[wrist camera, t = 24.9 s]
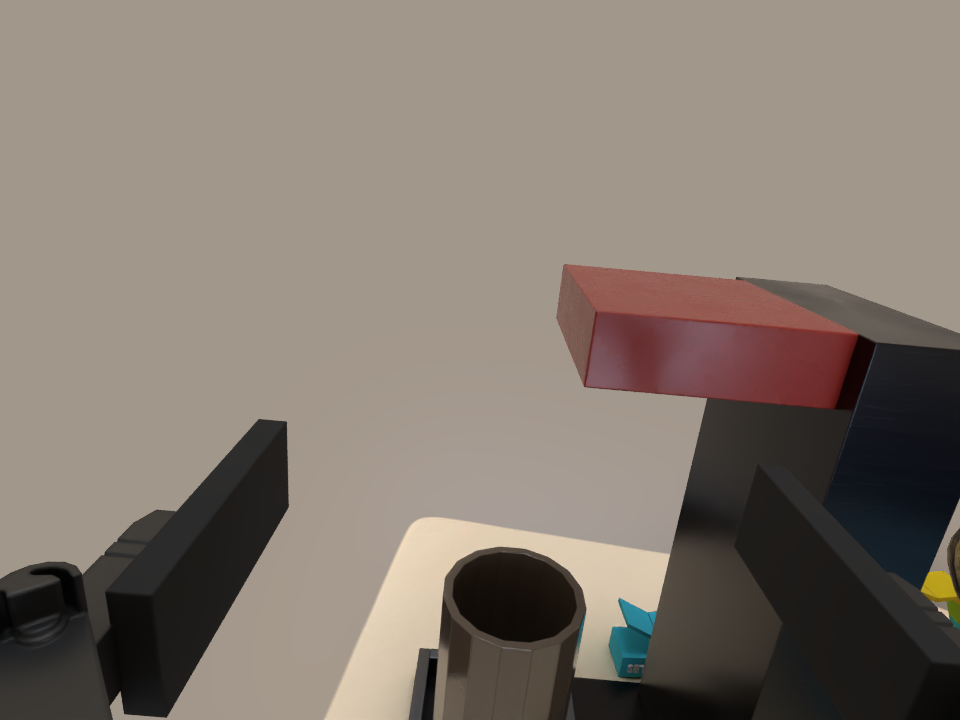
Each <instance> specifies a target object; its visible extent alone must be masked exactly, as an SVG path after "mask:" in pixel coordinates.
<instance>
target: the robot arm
mask: <svg viewBox="0 0 960 720" xmlns="http://www.w3.org/2000/svg"><path fill="white" fill-rule="evenodd" d="M287 459H288V457H287V422H285V421H274V420H262V419H259V420H258V421H257V422H256V423H255V424H254V425H253V426H252V427H251V429H250V430H249V431H248V432H247V433H246V434H245V435H244V436H243V437H242V439H241V440H240V441H239V442H238V443H237V444H236V445H235V447H234V448H233V449H232V450H231V451H230V452H229V453H228V454H227V455H226V457H225V458H224V459H223V460H222V461H221V462H220V463H219V464H218V466H217V467H216V468H215V469H214V470H213V471H212V472H211V473H210V474H209V476H208V477H207V478H206V479H205V480H204V481H203V482H202V483H201V485H200V486H199V487H198V488H197V489H196V490H195V491H194V492H193V494H192V495H191V496H190V497H189V498H188V499H187V500H186V502H185V503H184V504H183V505H182V506H181V507H180V508H179V509H178V510H177V512H175V511H165V510H155V511H153V512H152V513H150V514H148V515H146V516H145V517H143V518H141V519H139V520H138V521H136V522H134V523H133V524H132V525H131V526H130V527H129V528H128V529H127V530H126V531H125V532H124V533H123V534H122V535H121V536H120V537H119V538H118V541H117V542H114V543H113V544H112V545H111V546H110V547H109V548H108V549H107V550H106V551H105V554H104V556H101V557H99V558H98V560H96V561H95V563H94V564H93V565H92V566H91V567H90V568H89V569H88V570H87V571H86V572H85V573H84V574H83V575H82V573H81V572H80V571H79V569H78V568H77V566H75V565H72V564H69V563H66V562H45V563H40V564H35V565H30V566H27V567H24V568H22V569H19V570H17V571H14V572H11V573H10V574H8V575H6V576H5V577H3V578H1V579H0V720H113V718H112V714H111V710H110V705H111V704H112V702H113V701H114V699H115V698H116V696H117V695H118V694H119V692H120V691H121V697H122V703H123V710H124V714H128V715H141V716H153V717H165V718H167V716H168V714H169V713H170V711H171V709H172V708H173V706H174V704H175V702H176V701H177V699H178V697H179V695H180V694H181V692H182V690H183V689H184V687H185V685H186V683H187V682H188V680H189V678H190V676H191V675H192V673H193V671H194V670H195V668H196V666H197V664H198V663H199V661H200V659H201V658H202V656H203V654H204V652H205V650H206V649H207V647H208V645H209V643H210V642H211V640H212V638H213V637H214V635H215V633H216V631H217V630H218V628H219V626H220V625H221V623H222V621H223V620H224V618H225V616H226V614H227V613H228V611H229V609H230V607H231V606H232V604H233V602H234V601H235V599H236V597H237V595H238V594H239V592H240V590H241V588H242V587H243V585H244V583H245V582H246V580H247V578H248V576H249V575H250V573H251V571H252V569H253V568H254V566H255V564H256V563H257V561H258V559H259V557H260V556H261V554H262V552H263V551H264V549H265V547H266V545H267V543H268V542H269V540H270V538H271V537H272V535H273V533H274V531H275V530H276V528H277V526H278V524H279V523H280V521H281V519H282V518H283V516H284V514H285V513H286V511H287V509H288V507H289V504H288V503H289V502H288V460H287ZM734 547H735V549H736V550H737V552H738V554H739V555H740V557H741V558H742V560H743V561H744V563H745V565H746V566H747V568H748V569H749V571H750V572H751V574H752V576H753V577H754V579H755V580H756V582H757V584H758V585H759V587H760V588H761V590H762V591H763V593H764V595H765V596H766V598H767V599H768V601H769V602H770V604H771V606H772V607H773V609H774V610H775V612H776V614H777V615H778V617H779V618H780V620H781V621H782V623H783V625H784V626H785V628H786V629H787V631H788V632H789V634H790V636H791V637H792V639H793V640H794V642H795V644H796V645H797V647H798V648H799V650H800V651H801V653H802V655H803V656H804V658H805V659H806V661H807V662H808V664H809V666H810V667H811V669H812V670H813V672H814V674H815V675H816V677H817V678H818V680H819V681H820V683H821V685H822V686H823V688H824V689H825V691H826V692H827V694H828V696H829V697H830V699H831V700H832V702H833V704H834V705H835V707H836V708H837V710H838V711H839V713H840V715H841V716H842V718H843V719H844V720H960V630H959V629H958V628H957V627H954V626H953V623H952V622H951V621H950V620H949V619H948V618H947V617H946V616H945V615H944V614H943V613H942V612H938V608H937V607H936V606H935V605H934V604H933V603H932V602H931V601H930V600H929V599H928V598H927V597H926V596H925V595H924V594H923V593H922V592H921V591H920V590H919V589H918V588H916V587H915V586H913V585H912V584H910V583H909V582H907V581H906V580H904V579H903V578H901V577H900V576H898V575H897V574H895V573H890V572H886V571H885V570H884V569H883V568H882V567H881V566H880V565H879V564H878V563H877V562H876V561H875V560H874V559H873V558H872V557H871V556H870V555H869V554H868V553H867V551H866V550H865V549H864V548H863V547H862V546H861V545H860V544H859V543H858V542H857V541H856V540H855V539H854V538H853V537H852V536H851V535H850V534H849V533H848V532H847V531H846V530H845V529H844V528H843V527H842V526H841V525H840V523H839V522H838V521H837V520H836V519H835V518H834V517H833V516H832V515H831V514H830V513H829V512H828V511H827V510H826V509H825V508H824V507H823V506H822V505H821V504H820V503H819V502H818V501H817V500H816V499H815V498H814V496H813V495H812V494H811V493H810V492H809V491H808V490H807V489H806V488H805V487H804V486H803V485H802V484H801V483H800V482H799V481H798V480H797V479H796V478H795V477H794V476H793V475H792V474H791V473H790V472H789V471H788V470H787V468H786V467H783V466H772V465H761V464H758V465H757V468H756V471H755V475H754V478H753V482H752V485H751V489H750V492H749V496H748V499H747V503H746V506H745V510H744V513H743V516H742V520H741V523H740V527H739V530H738V534H737V537H736V541H735V544H734Z"/></svg>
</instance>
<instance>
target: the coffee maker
mask: <svg viewBox="0 0 960 720" xmlns="http://www.w3.org/2000/svg"><path fill="white" fill-rule="evenodd" d="M557 321H558V323H559V326H560V328H561V331H562V333H563V336H564V338H565V341H566V343H567V346H568V348H569V351H570V353H571V356H572V358H573V361H574V363H575V365H576V368H577V370H578V373H579V375H580V378H581V380H582V383H583V385H584V387H589V388H599V389H611V390H622V391H633V392H645V393H655V394H667V395H678V396H689V397H700V398H707V402H706V406H705V411H704V415H703V419H702V423H701V428H700V432H699V436H698V440H697V445H696V449H695V453H694V457H693V461H692V466H691V470H690V474H689V478H688V483H687V487H686V491H685V495H684V500H683V504H682V508H681V512H680V516H679V520H678V525H677V529H676V533H675V537H674V542H673V546H672V550H671V554H670V558H669V563H668V567H667V571H666V575H665V580H664V584H663V588H662V592H661V596H660V601H659V605H658V609H657V613H656V618H655V622H654V626H653V630H652V635H651V639H650V643H649V647H648V651H647V656H646V660H645V664H644V668H643V673H642V677H641V681H640V683H634V682H623V681H611V680H599V679H588V678H576V677H574V680H573V685H572V690H571V696H570V701H569V707H568V712H567V717H566V720H844V719H843V718H842V716H841V715H840V713H839V711H838V710H837V708H836V707H835V705H834V704H833V702H832V700H831V699H830V697H829V696H828V694H827V692H826V691H825V689H824V688H823V686H822V685H821V683H820V681H819V680H818V678H817V677H816V675H815V674H814V672H813V670H812V669H811V667H810V666H809V664H808V662H807V661H806V659H805V658H804V656H803V655H802V653H801V651H800V650H799V648H798V647H797V645H796V644H795V642H794V640H793V639H792V637H791V636H790V634H789V632H788V631H787V629H786V628H785V626H784V625H783V623H782V621H781V620H780V618H779V617H778V615H777V614H776V612H775V610H774V609H773V607H772V606H771V604H770V602H769V601H768V599H767V598H766V596H765V595H764V593H763V591H762V590H761V588H760V587H759V585H758V584H757V582H756V580H755V579H754V577H753V576H752V574H751V572H750V571H749V569H748V568H747V566H746V565H745V563H744V561H743V560H742V558H741V557H740V555H739V554H738V552H737V550H736V549H735V547H734V544H735V541H736V537H737V534H738V530H739V527H740V523H741V520H742V516H743V513H744V510H745V506H746V503H747V499H748V496H749V492H750V489H751V485H752V482H753V478H754V475H755V471H756V468H757V465H758V464H761V465H772V466H783V467H786V468H787V470H788V471H789V472H790V473H791V474H792V475H793V476H794V477H795V478H796V479H797V480H798V481H799V482H800V483H801V484H802V485H803V486H804V487H805V488H806V489H807V490H808V491H809V492H810V493H811V494H812V495H813V496H814V498H815V499H816V500H817V501H818V502H819V503H820V504H821V505H822V506H823V507H824V508H825V509H826V510H827V511H828V512H829V513H830V514H831V515H832V516H833V517H834V518H835V519H836V520H837V521H838V522H839V523H840V525H841V526H842V527H843V528H844V529H845V530H846V531H847V532H848V533H849V534H850V535H851V536H852V537H853V538H854V539H855V540H856V541H857V542H858V543H859V544H860V545H861V546H862V547H863V548H864V549H865V550H866V551H867V553H868V554H869V555H870V556H871V557H872V558H873V559H874V560H875V561H876V562H877V563H878V564H879V565H880V566H881V567H882V568H883V569H884V570H885V571H886V572H890V573H895V574H897V575H898V576H900V577H901V578H903V579H904V580H906V581H907V582H909V583H910V584H912V585H913V586H915V587H916V588H918V589H919V590H920V591H921V589H922V587H923V585H924V582H925V580H926V577H927V575H928V573H929V570H930V568H931V565H932V563H933V561H934V558H935V556H936V554H937V551H938V549H939V546H940V544H941V542H942V539H943V537H944V534H945V532H946V530H947V527H948V525H949V523H950V520H951V518H952V516H953V513H954V511H955V509H956V506H957V504H958V501H959V499H960V334H959V333H957V332H953V331H951V330H948V329H946V328H943V327H940V326H937V325H935V324H932V323H929V322H926V321H923V320H921V319H918V318H915V317H913V316H910V315H907V314H905V313H902V312H899V311H896V310H893V309H891V308H888V307H885V306H883V305H880V304H877V303H874V302H871V301H869V300H866V299H863V298H861V297H858V296H855V295H852V294H850V293H847V292H844V291H841V290H839V289H836V288H833V287H831V286H828V285H819V284H809V283H798V282H787V281H776V280H765V279H754V278H743V277H736V280H733V279H722V278H711V277H700V276H688V275H678V274H665V273H656V272H644V271H633V270H623V269H610V268H601V267H589V266H579V265H568V264H565V265H564V266H563V273H562V280H561V288H560V295H559V303H558V310H557ZM438 651H439V649H431V650H430V649H425V648H420V650H419V656H418V663H417V669H416V676H415V682H414V689H413V695H412V702H411V708H410V715H409V720H433V713H434V701H435V688H436V676H437V664H438Z"/></svg>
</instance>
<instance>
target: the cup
mask: <svg viewBox="0 0 960 720" xmlns="http://www.w3.org/2000/svg"><path fill="white" fill-rule="evenodd" d="M585 615H586V604H585V600H584V595H583V590H582V588H581V587H580V585H579V584H578V583H577V581H576V580H575V579H574V577H573V576H572V575H571V573H570V572H569V571H568V570H567V569H565V568H564V567H562V566H561V565H559V564H558V563H556V562H555V561H554V560H552V559H551V558H549V557H547V556H544V555H541V554H538V553H535V552H532V551H530V550H527V549H521V548H510V547H495V548H489V549H484V550H478V551H475V552H473V553H472V554H470V555H468V556H466V557H464V558H462V559H460V560H459V561H457V562H456V564H455V565H454V566H453V568H452V569H451V570H450V572H449V573H448V574H447V576H446V578H445V583H444V592H443V602H442V614H441V627H440V639H439V651H438V664H437V676H436V688H435V701H434V713H433V720H566V717H567V712H568V707H569V701H570V696H571V690H572V685H573V680H574V674H575V669H576V663H577V658H578V653H579V647H580V642H581V636H582V631H583V626H584V620H585Z"/></svg>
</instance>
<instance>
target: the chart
mask: <svg viewBox="0 0 960 720" xmlns="http://www.w3.org/2000/svg"><path fill="white" fill-rule="evenodd" d="M921 592H922V593H923V594H924V595H925V596H926V597H927V598H928V599H930V600H932V601H935V602H943V601H947V606H948V612H949V618H950V621H951V622H952V623H953V626H954V627H957V628H958V629H959V630H960V601H959V599H958V597H957V595H956V592H955V590H954V587H953V583H952V580H951V577H950V576H949V575H948V574H947V573H946V572H944V571H937V572H929V573H928V575H927V577H926V580H925V582H924V585H923V587H922V589H921ZM618 602H619V605H620V608H621V611H622V613H623V616H624V619H625V622H626V624H627V627H612V632H611V637H610V641H609V648H610V651H611V654H612V658H613V661H614V664H615V667H616V670H617V674H618V677H642V673H643V668H644V664H645V660H646V656H647V651H648V647H649V643H650V639H651V635H652V630H653V626H654V622H655V618H656V613H657V612H648V614H647V612H645V611H643V610H642V609H640V608H638V607H636V606H634V605H632V604H630V603H628V602H626V601H624V600H622V599H620V598H619V600H618Z"/></svg>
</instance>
